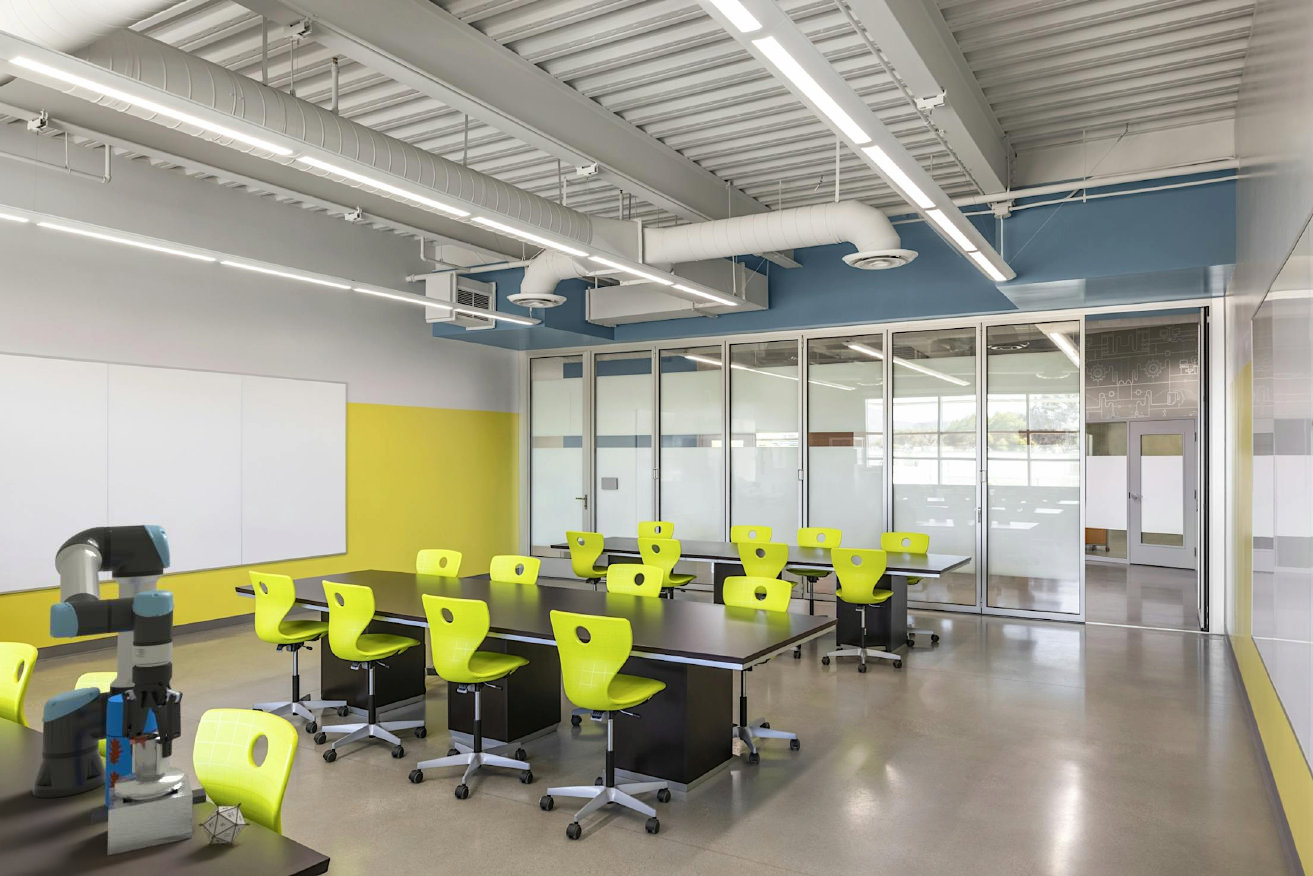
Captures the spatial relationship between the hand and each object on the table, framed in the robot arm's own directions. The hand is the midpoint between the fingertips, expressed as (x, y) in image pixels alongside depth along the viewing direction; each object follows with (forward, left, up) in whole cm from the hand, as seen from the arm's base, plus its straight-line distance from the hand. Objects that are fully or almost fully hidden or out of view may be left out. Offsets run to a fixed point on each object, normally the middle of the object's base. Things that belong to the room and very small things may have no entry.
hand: (150, 771), depth 180 cm
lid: (0, 0, -6) cm, 6 cm away
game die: (+15, +13, -14) cm, 24 cm away
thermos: (-23, -3, -13) cm, 27 cm away
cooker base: (0, 0, -13) cm, 13 cm away
